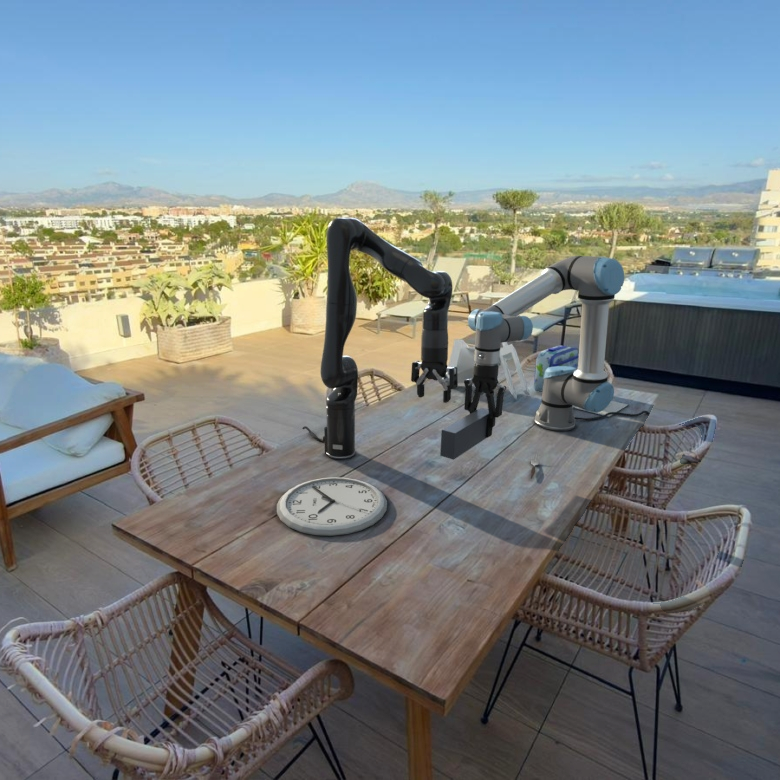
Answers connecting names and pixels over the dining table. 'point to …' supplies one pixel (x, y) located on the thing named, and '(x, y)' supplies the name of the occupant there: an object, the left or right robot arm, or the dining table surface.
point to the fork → (534, 465)
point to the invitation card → (609, 408)
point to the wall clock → (331, 506)
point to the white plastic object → (465, 362)
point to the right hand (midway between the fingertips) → (481, 434)
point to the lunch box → (554, 362)
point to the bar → (464, 434)
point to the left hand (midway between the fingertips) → (433, 399)
